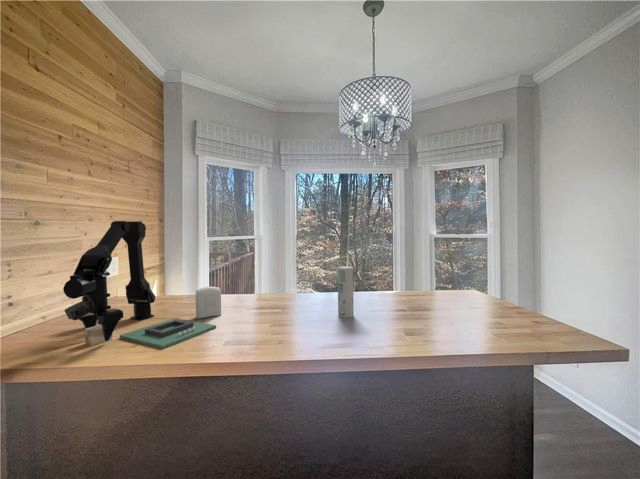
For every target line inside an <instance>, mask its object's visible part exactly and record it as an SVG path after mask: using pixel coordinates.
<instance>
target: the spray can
mask: <svg viewBox="0 0 640 479" xmlns="http://www.w3.org/2000/svg"><path fill="white" fill-rule="evenodd" d="M354 270H355V269H354V267H353V266H350V265H349V266H346V265H345V266H344V265H343V266H338V267H337V311H338V312H337V314H338V317H339V318H343V319H344V318H346V319H347V318H352V317H354V280H355V279H354V273H355V272H354Z"/></svg>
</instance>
